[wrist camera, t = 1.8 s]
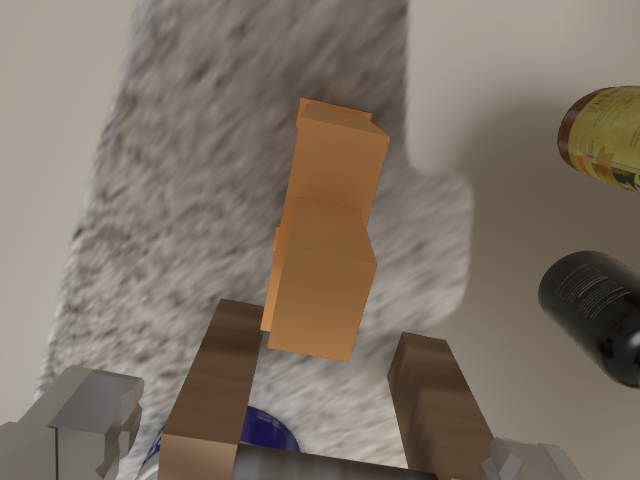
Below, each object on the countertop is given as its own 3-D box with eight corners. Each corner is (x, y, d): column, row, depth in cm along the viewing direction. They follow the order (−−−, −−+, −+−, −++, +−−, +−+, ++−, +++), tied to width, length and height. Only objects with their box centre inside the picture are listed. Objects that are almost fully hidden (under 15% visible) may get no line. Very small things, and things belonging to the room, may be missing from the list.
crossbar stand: (221, 299, 34) (161, 433, 21) (445, 340, 36) (518, 488, 23) (214, 347, 36) (155, 498, 23) (428, 384, 38) (487, 544, 25)
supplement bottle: (538, 328, 35) (639, 442, 24) (531, 259, 33) (640, 351, 22) (619, 309, 35) (761, 417, 24) (618, 238, 32) (776, 322, 21)
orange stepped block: (301, 97, 28) (277, 121, 12) (370, 113, 29) (443, 158, 12) (273, 245, 32) (225, 421, 16) (334, 257, 33) (350, 441, 16)
